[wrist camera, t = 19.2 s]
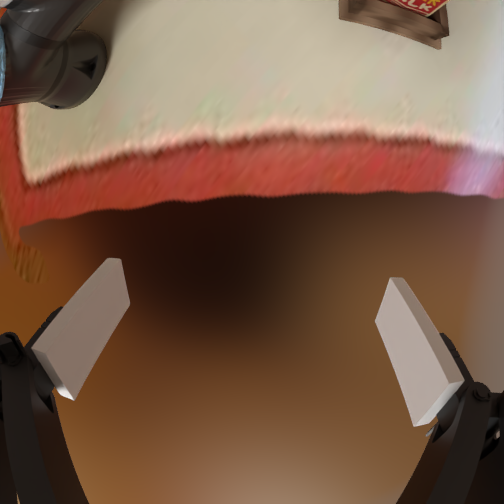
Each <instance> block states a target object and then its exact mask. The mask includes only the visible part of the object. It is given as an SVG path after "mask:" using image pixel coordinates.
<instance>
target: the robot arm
mask: <svg viewBox="0 0 504 504" xmlns="http://www.w3.org/2000/svg"><path fill="white" fill-rule="evenodd" d="M102 1H103V0H0V6H1V7H3V8H7V10H6V11H5V13H4V14H3V16H2V17H1V19H0V107H1V106H7V105H13V104H20V103H28V102H39V103H41V104H44V105H46V106H48V107H50V108H53V109H70V108H74V107H76V106H78V105H80V104H82V103H83V102H84V101H86V100H87V99H88V98H89V97H90V96H91V95H92V93H93V92H94V91H95V89H96V88H97V86H98V85H99V83H100V81H101V79H102V76H103V73H104V70H105V66H106V58H107V55H106V48H105V45H104V42H103V41H102V39H101V38H100V37H99V36H98V35H97V34H95V33H92V32H89V31H86V30H76V28H77V27H78V26H79V25H80V24H81V23H82V22H83V21H84V19H85V18H86V17H87V16H88V15H89V14H90V13H91V12H92V11H93V10H94V9H95V8H96V7H97V6H98V5H99V4H100V3H101V2H102ZM129 305H130V301H129V297H128V293H127V288H126V283H125V278H124V273H123V269H122V263H121V259H113V258H108V259H107V260H106V261H105V262H104V263H103V264H102V265H101V266H100V267H99V268H98V269H97V270H96V271H95V272H94V273H93V275H92V276H91V277H90V278H89V279H88V280H87V281H86V282H85V283H84V284H83V285H82V287H81V288H80V289H79V290H78V291H77V292H76V294H75V295H74V296H73V297H72V298H71V299H70V300H69V302H68V303H67V304H66V305H65V306H64V307H59V308H58V309H56V310H55V311H54V312H52V313H51V314H50V316H49V317H48V318H47V319H46V322H44V323H43V324H42V325H41V328H39V329H38V330H37V332H36V333H35V334H34V335H33V336H32V338H31V339H30V340H29V342H28V343H27V344H26V346H25V347H23V345H22V343H21V341H20V340H19V338H18V336H17V335H16V334H15V333H13V332H6V333H4V334H1V335H0V504H18V503H17V494H18V498H19V501H20V504H89V503H88V500H87V498H86V496H85V494H84V491H83V489H82V486H81V484H80V482H79V479H78V476H77V474H76V471H75V468H74V466H73V463H72V460H71V457H70V454H69V451H68V448H67V445H66V441H65V438H64V434H63V431H62V427H61V423H60V419H59V416H58V411H57V407H56V402H55V397H54V395H53V393H52V390H53V388H54V387H55V388H56V389H57V390H58V392H59V393H60V394H61V395H62V396H64V397H67V398H69V399H72V400H75V399H76V397H77V395H78V393H79V391H80V389H81V387H82V385H83V383H84V382H85V380H86V378H87V376H88V374H89V372H90V371H91V369H92V367H93V365H94V363H95V362H96V360H97V358H98V356H99V355H100V353H101V351H102V350H103V348H104V346H105V344H106V343H107V341H108V339H109V338H110V336H111V334H112V332H113V331H114V329H115V328H116V326H117V324H118V323H119V321H120V319H121V318H122V316H123V314H124V313H125V311H126V310H127V308H128V307H129ZM375 322H376V325H377V327H378V330H379V332H380V334H381V337H382V339H383V342H384V344H385V347H386V349H387V352H388V354H389V357H390V360H391V362H392V365H393V367H394V370H395V373H396V375H397V378H398V381H399V384H400V386H401V390H402V392H403V395H404V398H405V401H406V404H407V407H408V410H409V413H410V416H411V419H412V423H413V426H419V425H423V424H428V423H429V422H430V421H431V420H432V419H433V418H434V417H435V416H436V415H437V418H438V422H437V423H436V424H435V425H434V426H433V427H432V428H431V429H430V430H429V431H428V433H427V434H426V436H428V435H429V434H430V433H431V432H432V434H431V436H430V439H429V441H428V443H427V446H426V448H425V450H424V453H423V454H422V457H421V459H420V461H419V463H418V465H417V467H416V469H415V471H414V473H413V475H412V476H411V478H410V480H409V482H408V484H407V486H406V487H405V489H404V491H403V493H402V494H401V496H400V498H399V499H398V501H397V503H396V504H504V391H503V392H502V393H492V392H490V390H489V389H488V387H487V386H486V385H484V384H483V383H480V382H474V380H473V378H472V377H471V375H470V373H469V371H468V369H467V367H466V365H465V364H464V362H463V360H462V358H460V355H459V353H458V351H456V348H455V346H454V344H453V343H452V342H451V340H450V339H449V338H448V337H447V336H446V335H445V334H444V333H438V331H437V329H436V328H435V326H434V324H433V323H432V321H431V320H430V318H429V316H428V315H427V313H426V312H425V310H424V308H423V307H422V305H421V304H420V303H419V301H418V299H417V298H416V296H415V295H414V293H413V292H412V290H411V289H410V287H409V286H408V284H407V283H406V281H405V280H404V279H403V278H393V277H391V278H390V280H389V283H388V286H387V289H386V292H385V295H384V298H383V301H382V303H381V306H380V309H379V312H378V315H377V317H376V320H375ZM498 431H500V437H499V438H496V433H497V432H498Z"/></svg>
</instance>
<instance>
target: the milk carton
mask: <svg viewBox="0 0 504 504" xmlns="http://www.w3.org/2000/svg"><path fill="white" fill-rule="evenodd" d="M378 1H381V2H384V3H387V4H390V5H394V6H397V7H399V8H402V9H405V10H408V11H410V12H413V13H416V14H418V15H421V16H423V17H428V16H430V15H431V14H433V13H434V12H435V11H437V10H438V9H439V8H441V7H442V6H443V5H445V4H446V3H447V2H449V1H450V0H378Z"/></svg>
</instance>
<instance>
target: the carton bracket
mask: <svg viewBox="0 0 504 504" xmlns="http://www.w3.org/2000/svg"><path fill="white" fill-rule="evenodd" d="M339 19H341V20H346V21H350V22H355V23H359V24H363V25H367V26H371V27H375V28H378V29H382V30H385V31H389V32H392V33H395V34H398V35H401V36H404V37H407V38H410V39H413V40H415V41H418V42H421V43H423V44H426V45H428V46H431V47H433V48H436V49H438V50H439V49H441V38H443V37H446V36H449V27H448V17H447V10H446V4H445V5H443V6H442V7H441V8H439V9H438V10H437V11H435V12H434V13H433V14H431V15H430V16H428V17H423V16H421V15H418V14H416V13H413V12H410V11H408V10H405V9H402V8H399V7H397V6H394V5H390V4H387V3H384V2H381V1H378V0H339Z"/></svg>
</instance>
